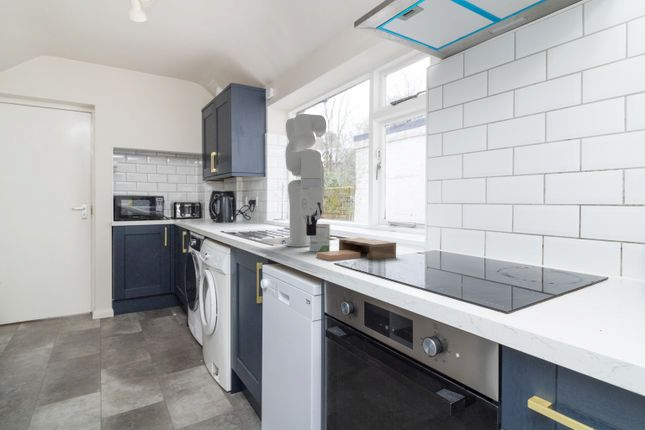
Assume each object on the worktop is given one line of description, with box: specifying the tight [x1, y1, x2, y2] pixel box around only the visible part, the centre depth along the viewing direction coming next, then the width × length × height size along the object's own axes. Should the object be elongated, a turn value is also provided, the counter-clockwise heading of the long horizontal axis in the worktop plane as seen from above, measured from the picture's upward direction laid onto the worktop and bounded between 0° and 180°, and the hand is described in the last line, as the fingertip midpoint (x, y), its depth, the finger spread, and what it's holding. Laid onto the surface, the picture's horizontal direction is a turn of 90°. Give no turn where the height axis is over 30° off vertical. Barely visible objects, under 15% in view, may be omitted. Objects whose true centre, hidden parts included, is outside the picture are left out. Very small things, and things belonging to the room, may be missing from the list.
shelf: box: [338, 237, 397, 260], centre depth 139 cm, size 22×11×6 cm, turn 33°
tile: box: [316, 249, 361, 262], centre depth 132 cm, size 9×14×2 cm, turn 124°
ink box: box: [308, 223, 331, 252], centre depth 150 cm, size 9×5×12 cm, turn 84°
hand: (311, 235), depth 125 cm, fingers closed
